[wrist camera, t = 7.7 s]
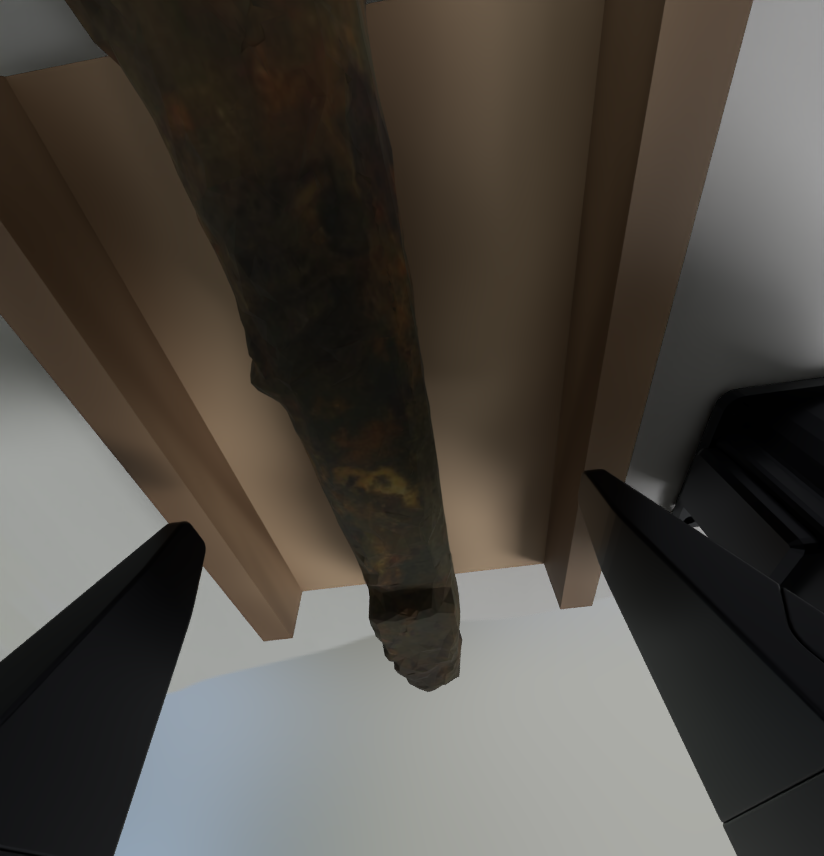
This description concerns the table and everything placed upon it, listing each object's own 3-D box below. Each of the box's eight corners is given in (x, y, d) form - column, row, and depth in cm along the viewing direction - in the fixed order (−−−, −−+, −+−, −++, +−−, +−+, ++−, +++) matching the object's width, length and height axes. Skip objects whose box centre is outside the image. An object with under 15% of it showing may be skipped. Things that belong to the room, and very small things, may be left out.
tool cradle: (651, -36, 7) (788, -133, 5) (564, 540, 17) (591, 605, 15) (-10, 94, 8) (-196, 71, 5) (281, 574, 18) (263, 641, 15)
